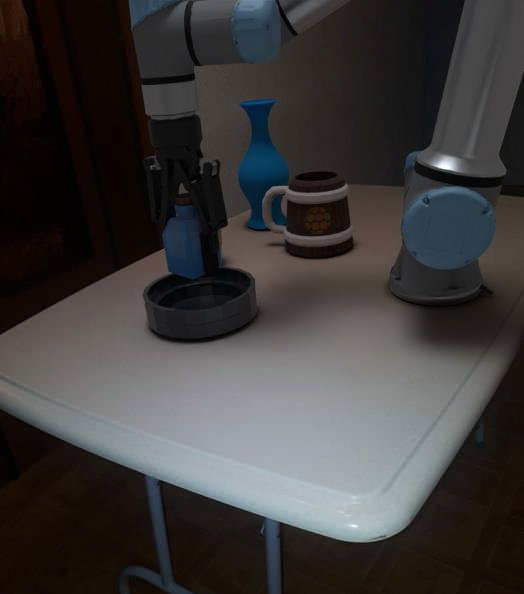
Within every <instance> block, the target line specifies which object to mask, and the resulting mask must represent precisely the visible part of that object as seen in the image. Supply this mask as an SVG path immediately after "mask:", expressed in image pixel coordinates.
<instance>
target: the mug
mask: <svg viewBox="0 0 524 594" xmlns="http://www.w3.org/2000/svg"><path fill="white" fill-rule="evenodd" d="M349 193H350V188H349V184H347V183H346V179H345V176H343V175H342V174H341V173H340V172H338V171H335V170H334V171H333V170H311V171H305V172H300V173H297V174H295V175H293V176H292V177H291V178H289V181H288V185H287V186H275V187H272V188H271V189H270V190H268V191H267V192H266V194H265V197H264V199H263V201H262V211H263V219H264V222H265V225H266V227H268V228H269V229H268V230H270V231H271V232H272V233H273V234H278V235H282V236H283V238H284V247H285V249H286V250H287V251H288V252H289V253H291V254H292V255H295V256H298V257H301V258H302V257H303V258H324V257H325V258H326V257H332V256H336V255H339V254H340V255H341V254H342V253H344V252H346V251H348V249H349V248H351V247H352V246H353V245H354V244H353V243H354V238H353V235H354V233H355V229H354V225H353V224H352V223H351V215H350V206H349V199H348V195H349ZM277 195H283V196H285V198H286V215H285V217H286V223H285V225H283V226H281V225H276V224H275V223H274V222H273V219H272V209H271V203H272V201H273V199H274V198H275V197H276V196H277Z"/></svg>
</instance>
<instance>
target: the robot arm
mask: <svg viewBox="0 0 524 594" xmlns="http://www.w3.org/2000/svg"><path fill="white" fill-rule="evenodd" d="M350 1H351V0H199V1H198V0H128V6H129V15H130V24H131V27H130V31H131V33H132V37H133V43H134V48H135V53H136V59H137V64H138V70H139V76H140V83H141V92H142V98H143V104H144V111H145V114H146V116H148V117H150V118H149V119H148V121H147V127H148V134H149V140H150V144H151V146H152V147H153V148H155V150H156V151H155V155H151V156H147V157H144V158H143V159H142V165H143V168H144V170H145V173H146V182H147V190H148V201H149V210H150V219H151V220H152V222H155V223H156V222H158V223H159V225H160V226H161V227H162V231H163V232H164V230H165V228H166V226H167V223H168V221H169V219H170V218H173V217H176V216H177V212H176V211H175V204H176V200H175V198H174V196H175V195H178V194H180V186H181V185H182V186H183V188H184V190H185V191H186V192H187V193H188V192H189V195H190V197H191V200H192V203H193V205H194V208H195V210H196V213H197V215H198V218H199V221H200V223H201V226H202V228H203V231H202V232H200V241H201V248H202V255H203V263H204V270H205V274H210V273H212V272H214V271H216V270H218V269H219V260H218V252H217V251H219V249H220V245H219V237H218V230H220V229H221V230H222V229H224V228H226V227H228V226H229V221H228V216H227V215H228V214H227V210H226V205H225V200H224V194H223V188H222V182H221V177H220V175H221V174H220V173H221V162H220V160H219V159H217V158H216V159H213V160H211V159H208V158H206V157H205V155H204V153H203V151H202V149H201V144H202V141H203V138H204V137H203V130H202V129H203V128H202V121H201V117H200V116H199V115H198V114H196V112H197V111H198V110H199V109H200V107H199V99H198V91H197V90H198V89H197V83H196V82H197V81H196V74H195V67H204V66H220V65H221V66H223V65H237V64H248V65H254V64H260V63H262V62H268V61H273V60H275V59H276V58H277V57H278V55H279V53H280V50H281V48H282V47H283V46H285V45H287V44H288V43H289V42H291V41H292V40H294V39H295V38H297V36H299V35H301V34H302V33H303V32H305V31H307V30H308V29H309V28H311V27H313V26H314V25H316V24H317V23H319V22H320V21H322V20H323V19H325V18H326V17H328V16H329V15H331V14H332V13H334V12H335V11H337V10H338V9H340V8H342V7H343V6H345V5H346V4H347V3H349V2H350ZM523 75H524V0H464V3H463V6H462V12H461V16H460V19H459V25H458V28H457V32H456V37H455V41H454V45H453V50H452V54H451V58H450V62H449V67H448V71H447V76H446V79H445V84H444V88H443V91H442V97H441V100H440V104H439V109H438V114H437V118H436V122H435V126H434V131H433V134H432V139H431V142H430V144H429V146H428V147H426V148H425V149H423V150H418V151H417V150H416V151H413V152H411V153H409V154H407V156H406V158H405V166H404V168H403V174H404V181H403V183H404V185H403V186H404V187H403V207H402V218H401V223H400V231H401V233H400V235H401V247H400V249H399V251H398V254H397V257H396V260H395V262H394V265H392V267H391V269H390V272H389V290H390V292H391V293H392V294H393V295H394V296H396V297H397V298H399V299H400V300H403V301H406V302H409V303H413V304H417V305H423V306H433V307H434V306H437V307H439V306H454V305H460V304H464V303H467V302H470V301H473V300H474V299H476V298H477V297H479V295H480V294H481V292H482V291H483V292H486V293H487V294H489V295H490V296H493V294H494V293H495V291H494V290H492V289H490V288H489V287H487V286H485V285H484V284H483V276H482V272H481V267H480V263H479V258H480V257H482V256H483V255H484V253H485V252H486V251H487V250H488V248H490V246H491V244H492V242H493V239H494V236H495V233H496V229H497V226H496V225H497V215H496V206H497V203H498V200H499V197H500V192H501V191H502V187H503V184H504V180H505V178H506V174H507V168H506V167H505V165H504V163H503V161H502V160H501V157H500V152H501V148H502V145H503V141H504V138H505V135H506V131H507V128H508V125H509V122H510V118H511V115H512V111H513V108H514V106H515V105H514V104H515V101H516V98H517V95H518V91H519V88H520V85H521V81H522V78H523ZM209 222H210V224H209Z"/></svg>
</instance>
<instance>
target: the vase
mask: <svg viewBox="0 0 524 594" xmlns="http://www.w3.org/2000/svg"><path fill="white" fill-rule="evenodd" d="M277 100H278V99H274V98H261V99H253V100H251V99H250V100H246V101H241V102H239V103H238V105H239V106H240V107H241V108H242V110H244V112H245V113H246V115H247V116H248V119H249V122H250V129H251V134H250V135H251V136H250V137H251V138H250V141H249V142H250V143H249V145H248V148H247V149H246V152H245V154H244V156H243V157H242V159H241V161H240V163H239V166H238V170H237V181H238V185H239V188H240V190H241V192H242V193H243V195H244V197H245V198H246V200H247V202H248V203H249V206H250V216H249V219H248V220H247V223H246V224H247V226H248V227H249V228H251V229H253V230H270V229H269V228H268V227H266V225H265V222H264V219H263V211H262V201H263V199H264V197H265V194H266V192H267V191H268V190H270V189H271V188H272V187H275V186H288V184H289V181H290V170H289V166H288V163H287V161H286V159H285V158H284V157H283V156H282V154H281V153H280V151H279V150H278V149H277V147H276V146H275V144H274V142H273V141H272V138H271V136H270V132H269V116H270V114H271V111H272V109H273V107H274V106H275V104H276V102H278V101H277ZM283 198H284V195H277V196H276V197H275V198H274V199H273V201H272V203H271V209H272V219H273V222H274V223H275V224H276V225H281V226H285V225H286V215H284V213H283V210H282V202H283Z"/></svg>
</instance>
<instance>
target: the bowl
mask: <svg viewBox="0 0 524 594" xmlns="http://www.w3.org/2000/svg"><path fill="white" fill-rule="evenodd" d="M141 296H142V301H143V305H144V311H145V315H146V320H147V323H148V326H149V328H150V329H151V330H152V331H154V332H156V333H157V334H159V335H163V336H165V337H169V338H174V339H175V338H177V339H183V340H197V339H200V340H201V339H207V338H208V339H209V338H214V337H216V336H221V335H224V334H227V333H230V332H232V331H235V330H237V329H238V328H241V327H243V326H244V325H246V324H247V323H249V322H251V321H252V320H253V319H254V317H255V316H256V315H257V313H258V310H259V307H258V306H259V303H258V294H257V283H256V278H255V277H254V276H253V275H252V274H251V272H249V271H247V270H244V269H242V268H238V267H233V266H229V265H227V266H226V265H225V266H224V265H222V267H221V268H219V269H218V270H216V271H214V272H212V273H210V274H205V275H203V276H201V277H198V278H196V279H194V280H193V279H190V278H186V277H183V276H180V275H177V274H174V273H171V272H169V273H167V274H164V275H162V276H160V277H159V278H157V279H155V280H153V281H152V282H151V283H149V284H148V285H147V286H146V287H145V288H144V290H143V292H142V294H141Z"/></svg>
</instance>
